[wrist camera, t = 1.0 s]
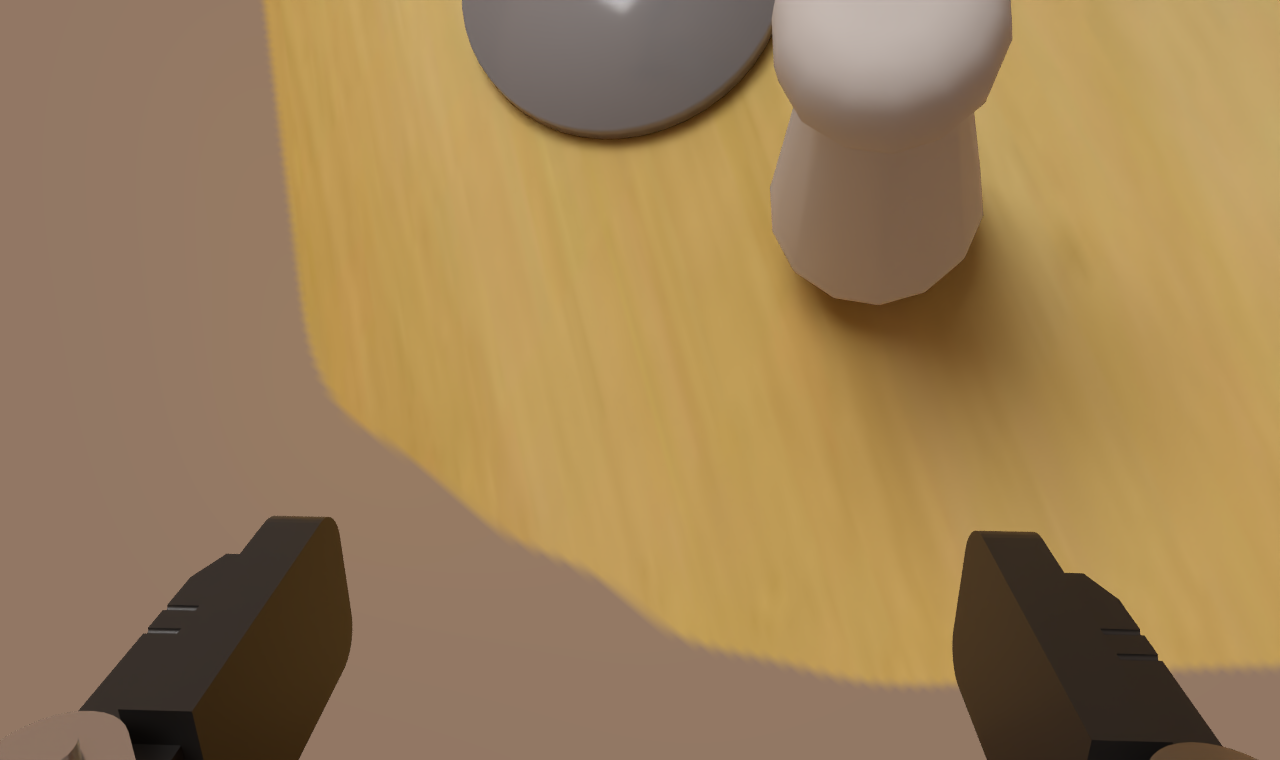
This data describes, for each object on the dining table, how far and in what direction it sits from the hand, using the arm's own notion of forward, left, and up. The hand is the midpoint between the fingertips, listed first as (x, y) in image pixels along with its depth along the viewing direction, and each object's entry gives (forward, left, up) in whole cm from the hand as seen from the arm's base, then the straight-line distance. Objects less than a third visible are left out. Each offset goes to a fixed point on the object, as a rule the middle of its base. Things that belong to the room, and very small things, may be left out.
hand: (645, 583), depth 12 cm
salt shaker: (-10, +2, -17) cm, 20 cm away
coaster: (-18, -7, -16) cm, 25 cm away
